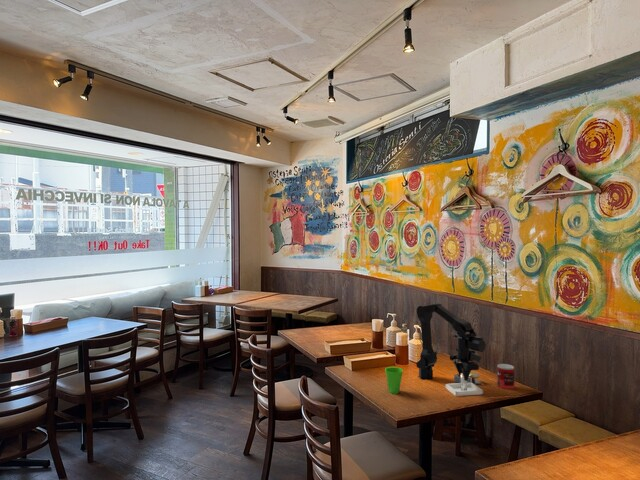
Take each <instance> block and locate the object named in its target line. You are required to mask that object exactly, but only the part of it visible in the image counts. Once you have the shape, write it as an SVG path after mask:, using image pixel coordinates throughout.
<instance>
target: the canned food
mask: <svg viewBox="0 0 640 480" xmlns="http://www.w3.org/2000/svg"><path fill="white" fill-rule="evenodd" d="M496 368H497V370H496V371H497V374H496V376H497V377H496V378H497V387H499V388H501V389H504V390H512V391H513V390H514V389H515V366H514V365H512V364H508V363H499V364H497V367H496Z"/></svg>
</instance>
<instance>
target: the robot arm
mask: <svg viewBox="0 0 640 480" xmlns="http://www.w3.org/2000/svg"><path fill="white" fill-rule="evenodd" d="M433 313H435V314H437V315H438V316H439V317H441V318H442V319H444V320H445V321H446V322H447V323H449V324H450V325H451V326H452V328H453V330H454V331H455V332H456V333H455V334H454V335H453V338H457V348H455V351H456V352H457V353H451V354H450V355H449V360H450V361H452V363H453V364H454V367H455V369H456V370H457V374H459V375H460V377H461V373H463V376H464V379H465V381H467V380H468V377H469V374H470V372H472V371H479V370H480V365H479V364H478V363H481V360H482V355H479V354H477V353H476V352H480V353H483V352H484V351H485V349H486V348H487V347H486V346H487V344H486V341H485V340H484V338H483V337H482V336H478V335H477V333H476V331H475V330H474V329H473V326H472V323H471V322H470V321H468V320H465V319H463V318H461V317H458V316H456V314H453V313H452V312H451V311H449V310H448V309H447V308H446V307H444V306H442V304H441V303H439V302H437V303H432V304H423V305H419V306H417V307H416V315H417V319H418V320H419V322H420V330H421V344H422V349H421V352H420V357H419V360H418V361H417V362H416V363H415V365H416V368H417V369H418V376H417V377H418V378H419V379H420V380H422V381H427V380H429V381H430V380H434V370H433V367H435V364H436V363H437V360H438V357H437V356H438V353H437V351H435V350H434V349H433V343H432V341H433V340H432V330H431V328H432V327H431V321H432V318H433Z"/></svg>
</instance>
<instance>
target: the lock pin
mask: <svg viewBox="0 0 640 480" xmlns="http://www.w3.org/2000/svg"><path fill="white" fill-rule="evenodd" d="M466 390H467V381H465V379H464V376H463V373H461V391H466Z"/></svg>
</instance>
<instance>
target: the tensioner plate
mask: <svg viewBox="0 0 640 480" xmlns="http://www.w3.org/2000/svg"><path fill="white" fill-rule="evenodd" d="M453 377H454V378H453V379H452V381H453V382H454V383H461V377H460V375H459V373H457V374H456V373H454V374H453ZM479 378H480V373H478V372H474V371H471V372H470V374H469V377H468V380H467V383H470V382H472V383H473V384H475V385H476V386H484V385H485V384H484V383H482V382H481V381H479Z"/></svg>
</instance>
